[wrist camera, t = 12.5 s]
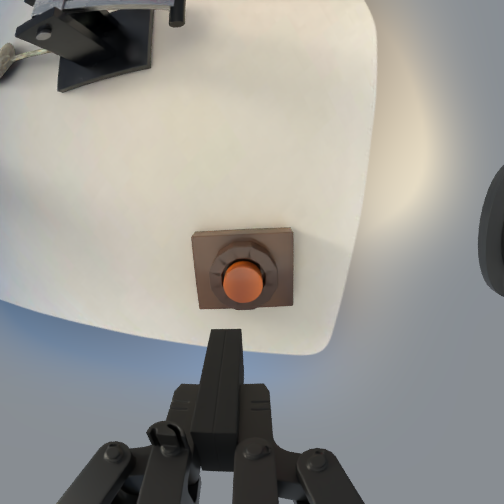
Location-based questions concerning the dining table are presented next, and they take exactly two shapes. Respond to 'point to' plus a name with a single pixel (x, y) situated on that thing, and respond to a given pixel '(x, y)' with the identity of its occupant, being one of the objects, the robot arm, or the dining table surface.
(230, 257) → the button box
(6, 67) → the soupspoon
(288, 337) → the dining table surface
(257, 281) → the button
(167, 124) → the dining table surface
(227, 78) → the dining table surface
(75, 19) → the lever bracket
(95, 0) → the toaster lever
